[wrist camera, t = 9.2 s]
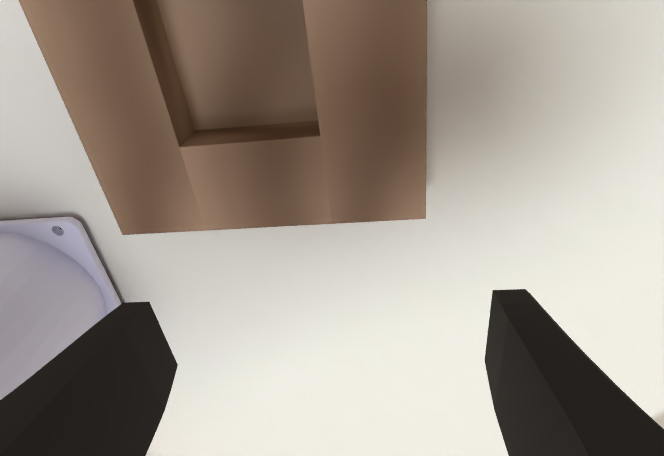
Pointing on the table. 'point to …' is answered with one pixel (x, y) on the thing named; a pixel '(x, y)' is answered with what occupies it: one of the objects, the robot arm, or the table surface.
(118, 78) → the pocket block
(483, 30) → the table surface
